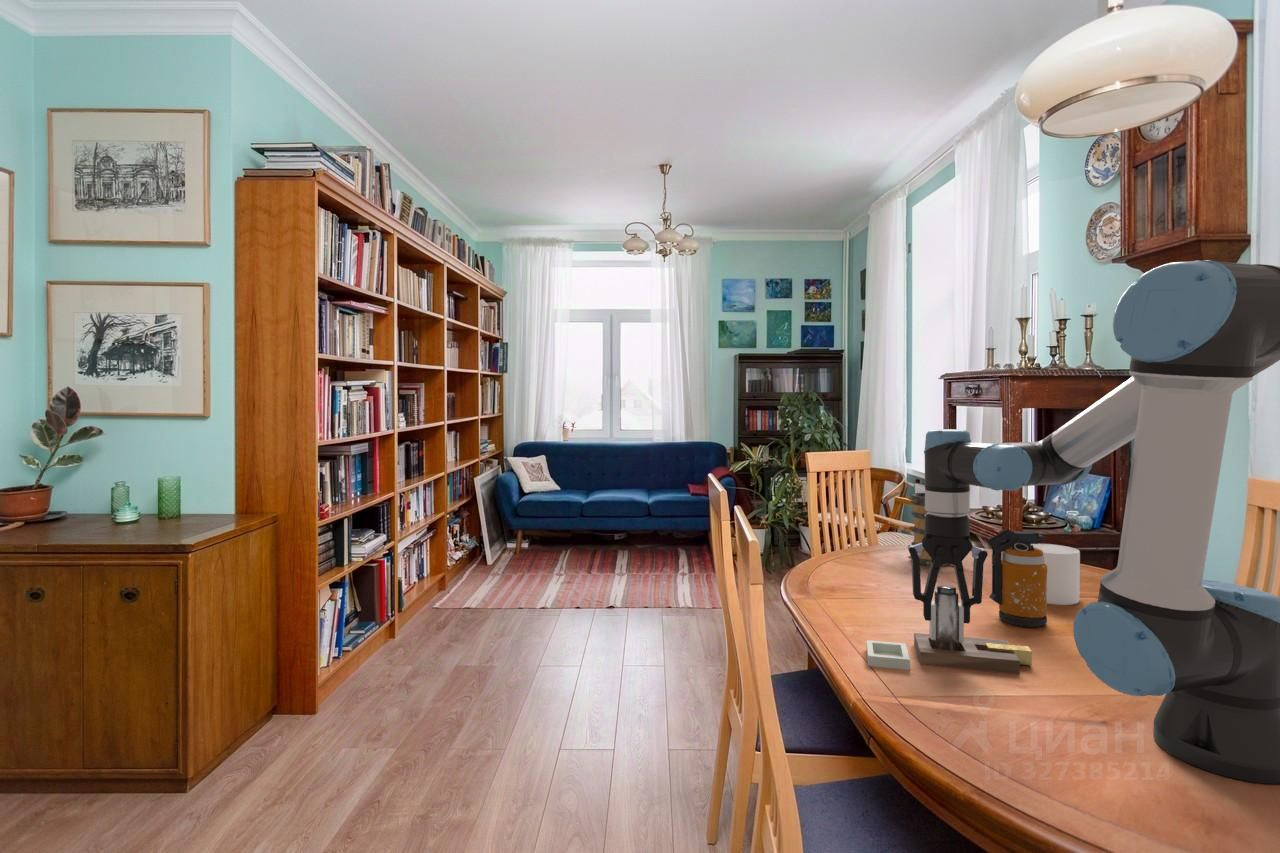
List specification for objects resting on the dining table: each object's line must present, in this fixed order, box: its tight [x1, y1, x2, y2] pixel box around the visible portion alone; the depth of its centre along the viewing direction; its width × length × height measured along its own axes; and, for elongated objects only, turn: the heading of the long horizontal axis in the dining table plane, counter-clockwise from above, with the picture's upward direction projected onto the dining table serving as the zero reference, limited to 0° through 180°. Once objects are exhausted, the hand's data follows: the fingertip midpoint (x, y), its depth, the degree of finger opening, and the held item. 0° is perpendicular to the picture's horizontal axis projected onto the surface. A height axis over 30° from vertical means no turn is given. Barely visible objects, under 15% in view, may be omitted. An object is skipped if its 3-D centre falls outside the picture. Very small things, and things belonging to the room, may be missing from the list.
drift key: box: [985, 643, 1033, 666], centre depth 120 cm, size 2×7×2 cm, turn 74°
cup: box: [1031, 543, 1081, 606], centre depth 160 cm, size 12×12×12 cm
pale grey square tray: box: [866, 639, 911, 671], centre depth 122 cm, size 8×7×2 cm
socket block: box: [913, 632, 1021, 675], centre depth 122 cm, size 10×16×3 cm, turn 73°
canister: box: [988, 528, 1048, 628], centre depth 143 cm, size 9×11×20 cm
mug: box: [906, 492, 972, 568], centre depth 194 cm, size 13×17×20 cm
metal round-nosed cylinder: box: [934, 584, 959, 651], centre depth 122 cm, size 4×4×13 cm
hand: (946, 638), depth 123 cm, fingers closed on metal round-nosed cylinder, 4 cm apart
